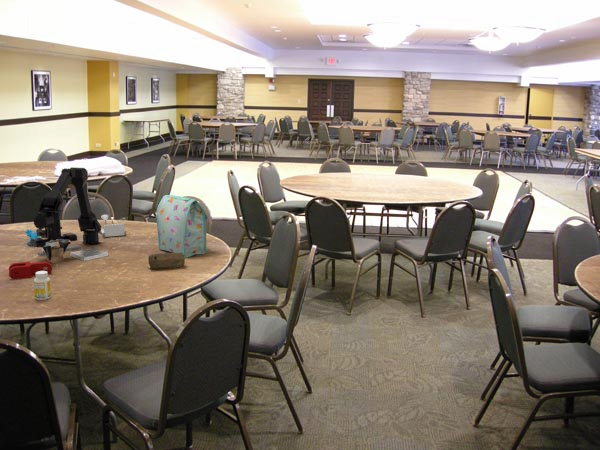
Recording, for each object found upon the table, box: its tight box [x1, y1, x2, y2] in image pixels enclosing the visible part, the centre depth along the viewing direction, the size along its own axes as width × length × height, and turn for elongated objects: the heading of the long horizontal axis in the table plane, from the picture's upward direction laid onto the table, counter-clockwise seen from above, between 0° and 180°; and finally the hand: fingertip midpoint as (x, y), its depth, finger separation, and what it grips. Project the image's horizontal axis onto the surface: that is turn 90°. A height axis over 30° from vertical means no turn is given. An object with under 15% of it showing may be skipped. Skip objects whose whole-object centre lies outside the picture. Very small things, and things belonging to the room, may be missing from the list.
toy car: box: [98, 213, 128, 239], centre depth 317 cm, size 18×10×12 cm
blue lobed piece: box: [25, 229, 41, 246], centre depth 292 cm, size 11×6×10 cm
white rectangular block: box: [40, 238, 56, 252], centre depth 276 cm, size 4×4×6 cm
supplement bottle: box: [33, 271, 52, 301], centre depth 217 cm, size 5×5×10 cm
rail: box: [36, 244, 82, 257], centre depth 281 cm, size 20×3×1 cm, turn 139°
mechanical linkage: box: [8, 261, 53, 280], centre depth 244 cm, size 16×7×5 cm, turn 116°
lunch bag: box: [155, 194, 209, 259], centre depth 284 cm, size 23×16×27 cm
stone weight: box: [148, 252, 186, 270], centre depth 259 cm, size 15×7×7 cm, turn 119°
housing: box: [46, 245, 65, 264], centre depth 264 cm, size 5×5×7 cm
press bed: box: [69, 247, 109, 262], centre depth 275 cm, size 12×12×2 cm
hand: (55, 258), depth 265 cm, fingers closed on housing, 5 cm apart
